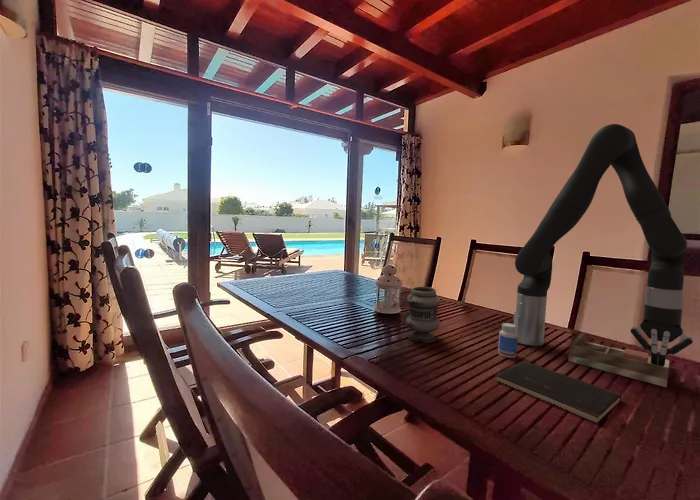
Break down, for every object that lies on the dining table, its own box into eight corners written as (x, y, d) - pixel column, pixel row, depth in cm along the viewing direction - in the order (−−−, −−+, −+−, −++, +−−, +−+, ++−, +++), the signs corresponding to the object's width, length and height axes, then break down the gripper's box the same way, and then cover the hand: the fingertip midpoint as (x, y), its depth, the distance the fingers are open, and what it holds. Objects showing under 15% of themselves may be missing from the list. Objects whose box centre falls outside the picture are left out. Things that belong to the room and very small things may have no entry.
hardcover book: (597, 426, 70) (598, 416, 70) (494, 382, 89) (495, 374, 88) (621, 403, 80) (621, 394, 80) (524, 367, 98) (524, 360, 98)
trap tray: (568, 361, 102) (569, 345, 102) (580, 346, 115) (582, 332, 115) (666, 387, 87) (668, 368, 86) (668, 366, 100) (670, 350, 99)
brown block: (622, 366, 94) (623, 352, 94) (624, 361, 98) (626, 348, 98) (646, 372, 91) (647, 358, 90) (647, 367, 94) (648, 353, 94)
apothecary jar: (403, 341, 116) (405, 290, 114) (406, 330, 128) (407, 284, 126) (439, 345, 113) (441, 293, 112) (438, 333, 125) (440, 286, 123)
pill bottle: (518, 359, 103) (520, 328, 102) (500, 357, 104) (502, 327, 103) (513, 352, 108) (515, 323, 108) (496, 350, 110) (498, 321, 109)
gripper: (629, 302, 92) (624, 363, 93) (698, 311, 83) (692, 378, 84) (632, 298, 97) (627, 355, 99) (697, 306, 88) (691, 369, 89)
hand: (657, 366), depth 91 cm, fingers closed
